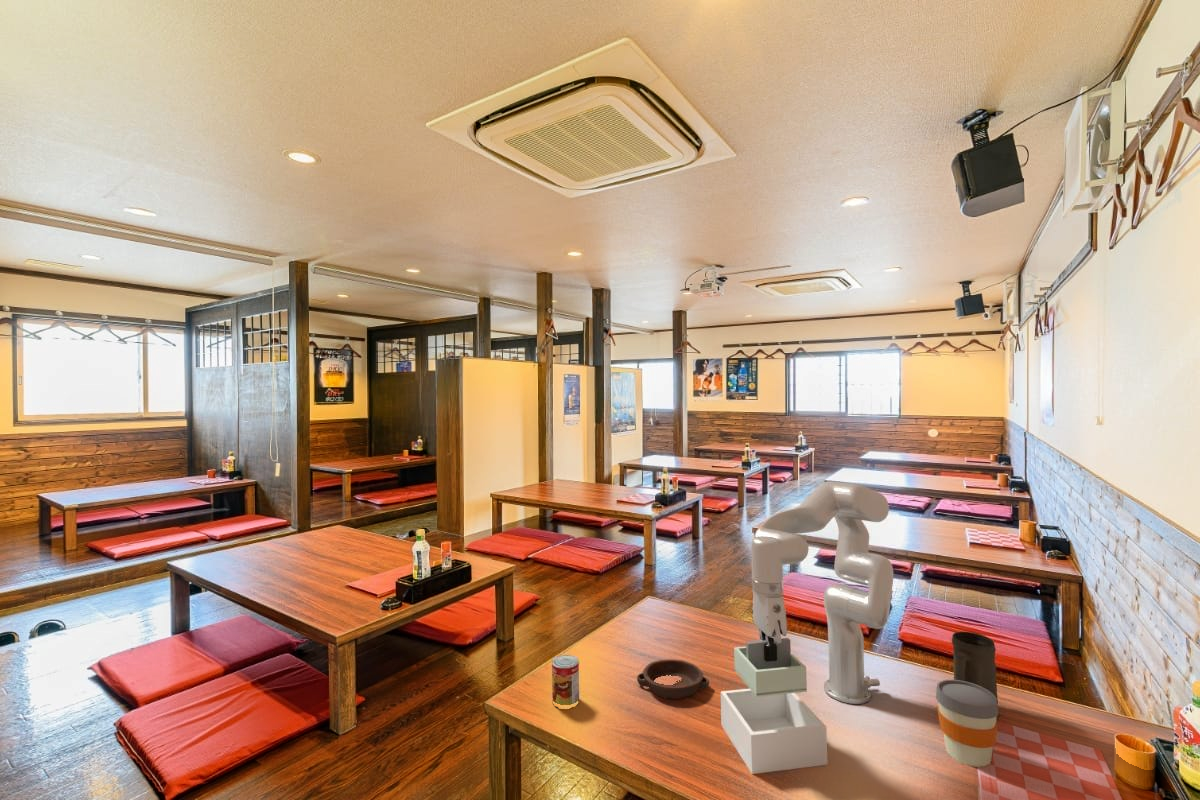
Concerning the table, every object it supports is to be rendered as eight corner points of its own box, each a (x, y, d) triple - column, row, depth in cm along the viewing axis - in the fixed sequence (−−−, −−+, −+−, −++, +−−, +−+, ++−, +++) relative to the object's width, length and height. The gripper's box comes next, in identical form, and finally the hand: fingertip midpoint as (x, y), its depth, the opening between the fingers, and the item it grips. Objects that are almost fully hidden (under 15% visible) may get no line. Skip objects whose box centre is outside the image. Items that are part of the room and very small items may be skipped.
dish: (712, 706, 149) (711, 689, 149) (635, 702, 152) (634, 685, 152) (707, 675, 166) (706, 659, 166) (638, 672, 169) (638, 657, 169)
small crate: (780, 665, 139) (779, 628, 140) (806, 691, 127) (805, 650, 127) (734, 670, 138) (733, 632, 138) (756, 697, 125) (755, 655, 125)
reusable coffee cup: (1013, 765, 122) (1011, 701, 123) (973, 777, 119) (971, 711, 119) (962, 734, 134) (961, 675, 135) (925, 743, 131) (923, 683, 131)
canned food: (556, 693, 157) (556, 653, 157) (582, 696, 155) (581, 655, 156) (549, 708, 149) (548, 666, 149) (575, 711, 148) (574, 668, 148)
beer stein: (957, 692, 154) (953, 625, 153) (1002, 706, 146) (999, 636, 145) (944, 718, 143) (940, 647, 142) (992, 735, 135) (989, 659, 134)
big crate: (787, 717, 143) (786, 684, 143) (827, 764, 124) (826, 726, 124) (721, 725, 140) (720, 691, 140) (752, 774, 121) (751, 735, 121)
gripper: (796, 596, 125) (798, 672, 125) (767, 575, 141) (768, 644, 140) (767, 598, 124) (769, 675, 124) (740, 577, 140) (742, 646, 139)
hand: (769, 658), depth 132 cm, fingers closed on small crate, 1 cm apart
